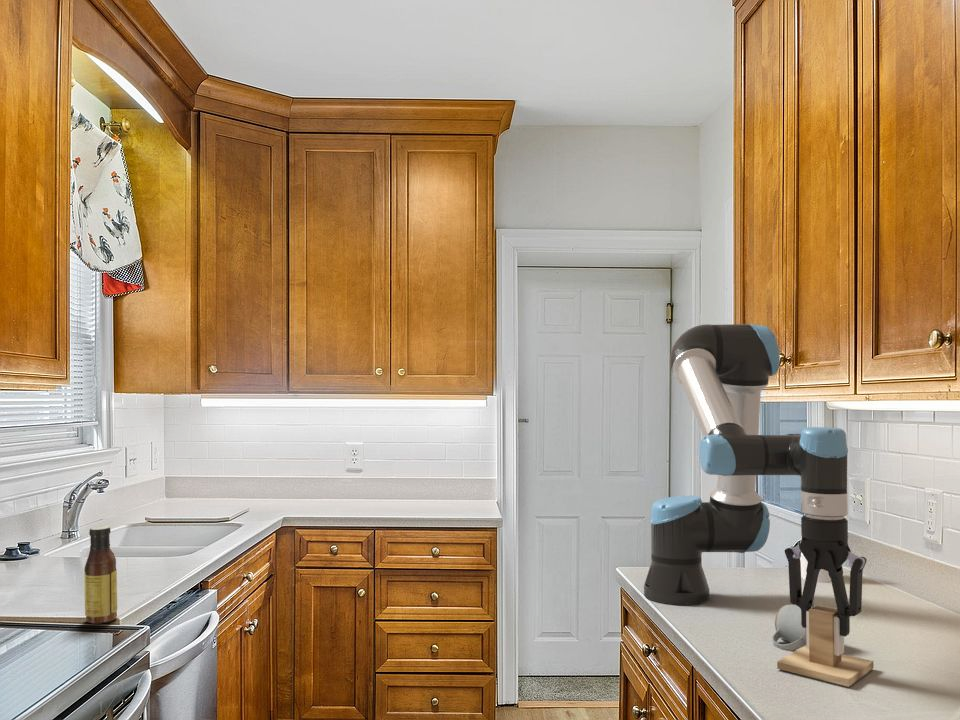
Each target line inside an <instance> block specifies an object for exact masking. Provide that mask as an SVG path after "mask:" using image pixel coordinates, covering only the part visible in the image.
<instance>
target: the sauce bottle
mask: <svg viewBox="0 0 960 720" xmlns="http://www.w3.org/2000/svg"><path fill="white" fill-rule="evenodd" d="M88 534H89V536H90V537H89V538H90V545H89V546H90V547H89V553H88V555H87V556H88V557H87V559H86V562H85V564H84V570H83V571H84V573H83V574H84V614H85V615H84V616H85V618H86V619H85V620H86V622H87V623H90V624H95V625H101V624H104V623H105V624H106V623H110V622H113V621H115V620H116V619H117V617H118V614H117V611H118V575H117V573H118V571H117V559H116V557H115V553H114V552H113V551H112V549H111V544H110V543H111V541H110V534H111V527H110V526H109V525H97V526H92V527H90V528H89V532H88Z"/></svg>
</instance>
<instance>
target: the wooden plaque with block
mask: <svg viewBox="0 0 960 720" xmlns="http://www.w3.org/2000/svg"><path fill="white" fill-rule="evenodd" d="M836 615H838V611H837V607H836V608H834V607H831V606H825V605H821V604H818V605H815V606H812V607H811V609H809V649H807V646H803V647H801V648H799V649H797V650H795V651H793V652H791V653H790V654H788V655H786V656H784V657H783V658H781V659H779V660H778V661H777V662H776V663H777V666H776V669H777V670H784V671H788V672H792V673H796V674H800V675H804V676H808V677H812V678H816V679H820V680H823V681H827V682H831V683H835V684H839V685H843V686H847V687H849V686H851V685H852V684H853V683H855V682H856V681H857V680H858V679H860V678H861V677H862V676H864V675H865V674H866V673H868V672H869V671H870V670H874V668H875V667H874V662H875V661H874V660H871V659H865V658H861V657H857V656H852V655H848V654H844V653H842V654H841V655H839V656H836V655H834V617H835V616H836Z"/></svg>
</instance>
